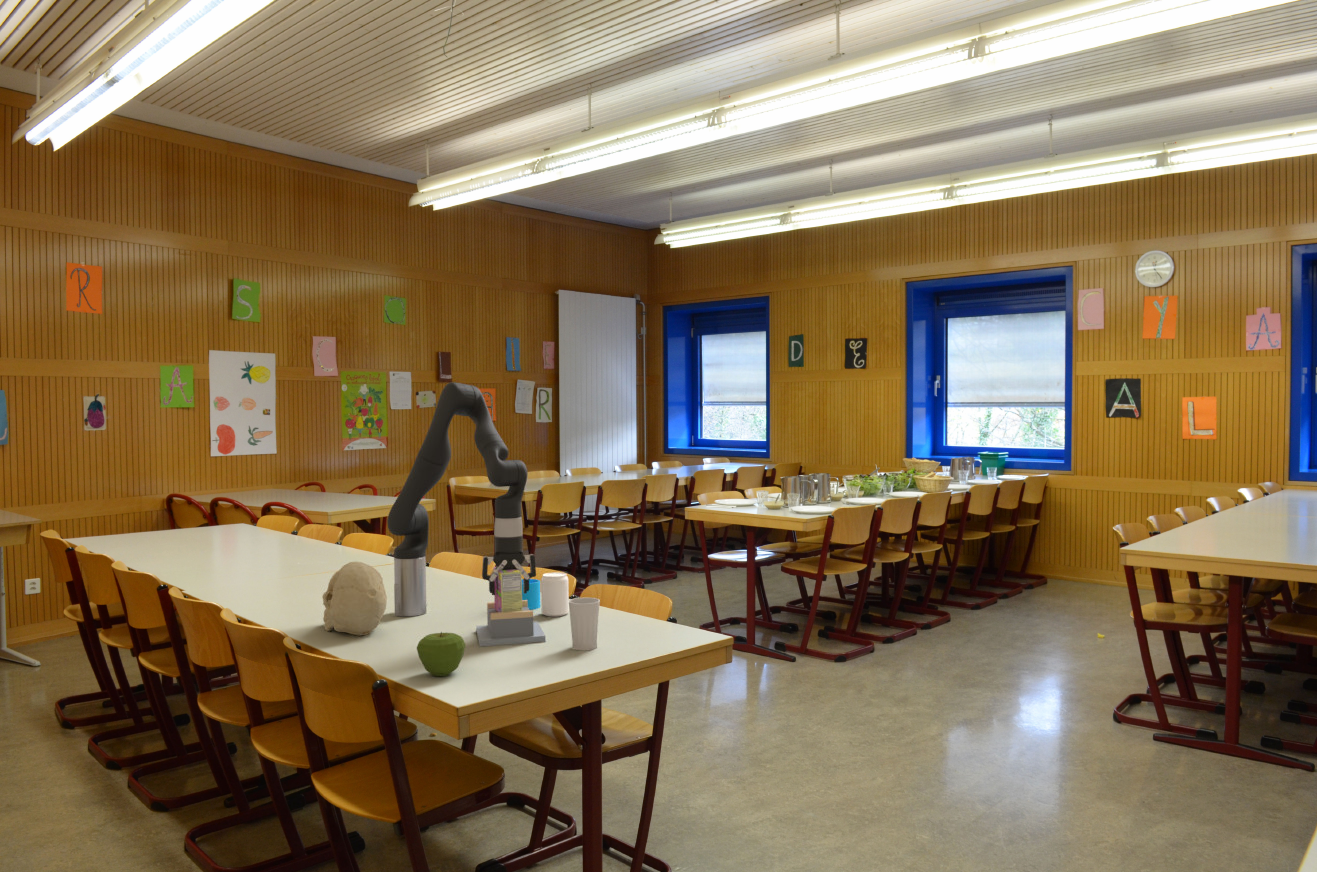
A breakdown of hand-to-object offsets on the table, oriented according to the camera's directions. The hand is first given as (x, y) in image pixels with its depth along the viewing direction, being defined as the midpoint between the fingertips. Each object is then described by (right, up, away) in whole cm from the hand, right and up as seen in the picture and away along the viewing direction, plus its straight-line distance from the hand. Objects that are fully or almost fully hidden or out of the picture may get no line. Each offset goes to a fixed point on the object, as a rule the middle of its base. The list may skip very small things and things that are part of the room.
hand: (509, 593), depth 239 cm
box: (0, -5, 0) cm, 5 cm away
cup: (+21, -12, -12) cm, 27 cm away
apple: (-10, -13, -34) cm, 38 cm away
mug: (-2, -11, +38) cm, 40 cm away
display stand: (0, -12, 0) cm, 12 cm away
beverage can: (+9, -11, +26) cm, 30 cm away
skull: (-46, -12, +8) cm, 48 cm away
